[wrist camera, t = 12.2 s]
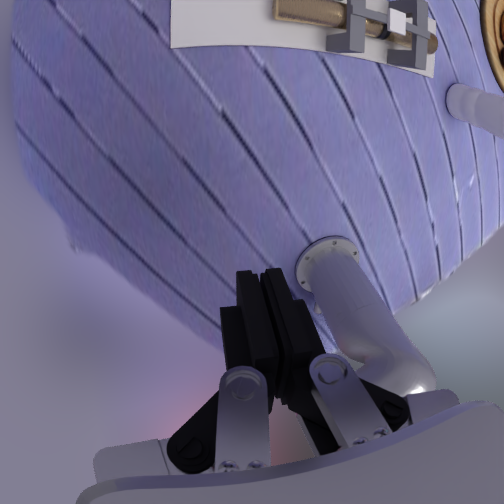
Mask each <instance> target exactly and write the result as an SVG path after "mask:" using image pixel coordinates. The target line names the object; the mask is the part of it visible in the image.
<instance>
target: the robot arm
mask: <svg viewBox="0 0 504 504" xmlns="http://www.w3.org/2000/svg"><path fill="white" fill-rule="evenodd" d="M358 264H359V252H358V249H357V248H356V246H355V245H354V244H353V243H352V242H351V241H350V240H349V239H347V238H344V237H339V236H332V237H327V238H324V239H321V240H319V241H317V242H315V243H313V244H312V245H311V246H309V247H308V248H307V249H306V250H305V251H304V252H303V253H302V255H301V256H300V258H299V260H298V262H297V265H296V273H295V274H296V278H297V280H298V283H299V284H300V286H301V287H302V288H304V289H305V290H307V291H309V292H313V295H314V297H315V301H316V302H315V306H314V312H315V313H317V314H321V313H322V314H323V316H324V318H325V320H326V322H327V325H328V327H329V329H330V331H331V333H332V336H333V338H334V340H335V342H336V344H337V346H338V348H339V350H340V351H341V352H342V353H343V354H344V355H345V356H347V357H348V358H350V359H352V360H354V361H357V362H360V363H363V364H364V365H363V366H362V367H361V368H359V369H358V370H356V371H354V370H353V368H352V367H351V365H350V364H349V363H348V362H347V360H346V359H344V358H343V357H341V356H339V355H336V354H330V353H327V354H326V352H325V349H324V347H323V344H322V342H321V340H320V337H319V335H318V332H317V330H316V327H315V325H314V323H313V320H312V318H311V315H310V313H309V311H308V308H307V306H306V303H305V302H304V300H303V299H300V300H293V298H292V295H291V293H290V290H289V288H288V285H287V282H286V280H285V277H284V275H283V272H282V270H281V268H272V269H266V270H265V273H261V274H260V282H259V278H258V275H257V274H252V271H251V270H247V271H237V272H236V291H237V306H230V307H220V317H221V329H222V339H223V347H224V354H225V362H226V370H227V372H225V373H224V375H223V376H222V377H221V380H220V384H219V390H218V391H217V392H216V393H215V394H214V396H213V397H211V398H210V399H209V400H208V402H206V404H204V405H203V406H202V407H201V408H200V409H199V410H198V412H196V413H195V414H194V416H192V417H191V418H190V419H189V420H188V421H187V422H186V423H185V424H184V425H183V426H182V427H181V428H180V429H179V430H178V431H177V432H175V433H174V434H173V435H172V437H171V438H167V439H162V440H158V439H153V440H148V441H143V442H138V443H132V444H126V445H120V446H114V447H107V448H104V449H101V450H100V451H98V452H97V453H96V455H95V457H94V460H93V465H94V471H95V476H96V480H97V484H95V485H93V486H91V487H88V488H87V489H85V490H84V491H83V492H82V493H81V494H80V495H79V497H78V499H77V501H76V504H504V412H503V410H502V409H501V408H500V407H499V406H497V405H496V404H495V403H492V402H489V401H469V402H465V403H461V404H460V403H459V399H458V397H457V395H456V394H455V393H454V392H453V391H451V390H449V389H441V390H435V388H436V375H435V372H434V370H433V368H432V366H431V364H430V363H429V362H428V360H427V359H426V358H425V356H424V355H423V354H422V353H421V352H420V351H419V349H418V348H417V347H416V346H415V345H414V344H413V343H412V341H411V340H410V339H409V338H408V336H407V335H406V334H405V333H404V331H403V330H402V328H401V327H400V326H399V324H398V322H397V321H396V320H395V318H394V317H393V315H392V314H391V312H390V310H389V309H388V307H387V306H386V304H385V303H384V301H383V300H382V298H381V297H380V295H379V294H378V292H377V291H376V289H375V288H374V286H373V285H372V283H371V282H370V280H369V279H368V278H367V276H366V275H365V273H364V272H363V270H362V269H361V268H360V266H359V265H358ZM274 396H275V397H276V398H277V399H278V398H281V402H282V405H286V404H287V405H288V408H289V409H290V410H291V411H293V412H295V414H296V418H297V420H298V422H299V424H300V426H301V428H302V430H303V432H304V434H305V437H306V439H307V441H308V443H309V445H310V447H311V449H312V451H313V453H314V455H315V457H314V458H310V459H306V460H301V461H297V462H292V463H286V464H281V465H276V466H271V458H270V437H269V414H270V413H271V411H272V405H273V401H274Z"/></svg>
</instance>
